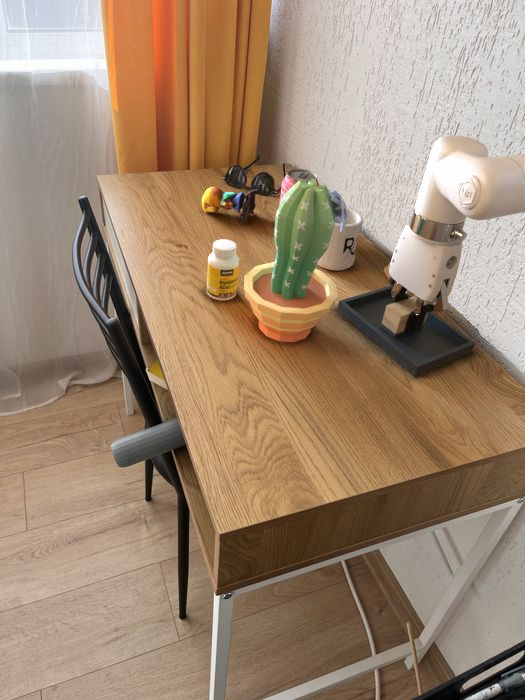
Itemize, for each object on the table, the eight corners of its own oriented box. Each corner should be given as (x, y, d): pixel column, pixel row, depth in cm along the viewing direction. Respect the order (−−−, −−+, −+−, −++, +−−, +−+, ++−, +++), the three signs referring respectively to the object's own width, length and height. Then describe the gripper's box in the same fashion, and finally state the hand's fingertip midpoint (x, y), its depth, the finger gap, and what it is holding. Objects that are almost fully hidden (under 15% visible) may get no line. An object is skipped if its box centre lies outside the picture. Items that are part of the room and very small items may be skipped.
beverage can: (316, 224, 120) (325, 172, 113) (306, 238, 114) (315, 185, 107) (283, 215, 122) (289, 164, 115) (272, 229, 116) (278, 176, 109)
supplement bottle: (218, 305, 92) (220, 255, 86) (200, 290, 95) (201, 241, 89) (242, 296, 95) (247, 247, 88) (224, 282, 98) (227, 234, 92)
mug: (339, 277, 103) (349, 230, 97) (300, 260, 107) (308, 214, 101) (368, 255, 111) (380, 211, 105) (332, 240, 115) (341, 196, 109)
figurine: (198, 213, 119) (199, 187, 115) (214, 202, 124) (215, 176, 120) (243, 227, 116) (246, 201, 112) (258, 215, 121) (260, 189, 117)
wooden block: (409, 316, 94) (416, 295, 91) (423, 327, 91) (431, 306, 88) (380, 326, 90) (386, 305, 87) (394, 338, 88) (401, 316, 85)
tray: (471, 352, 88) (476, 343, 87) (414, 377, 82) (418, 367, 81) (391, 293, 100) (394, 284, 99) (336, 310, 94) (338, 300, 93)
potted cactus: (322, 364, 82) (356, 215, 66) (228, 342, 84) (238, 192, 68) (335, 310, 94) (366, 173, 78) (251, 292, 96) (265, 155, 80)
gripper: (496, 245, 75) (454, 344, 87) (414, 199, 86) (386, 293, 97) (461, 255, 72) (422, 357, 83) (380, 206, 82) (355, 303, 94)
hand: (403, 322), depth 90 cm, fingers closed on wooden block, 3 cm apart
